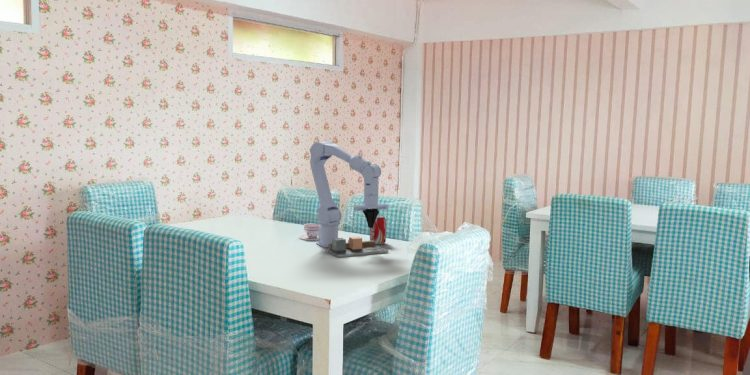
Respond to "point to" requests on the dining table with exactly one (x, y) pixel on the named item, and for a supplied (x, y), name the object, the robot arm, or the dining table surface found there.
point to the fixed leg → (339, 245)
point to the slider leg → (355, 243)
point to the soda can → (378, 230)
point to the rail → (364, 244)
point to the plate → (364, 251)
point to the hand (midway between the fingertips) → (370, 227)
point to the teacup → (310, 231)
